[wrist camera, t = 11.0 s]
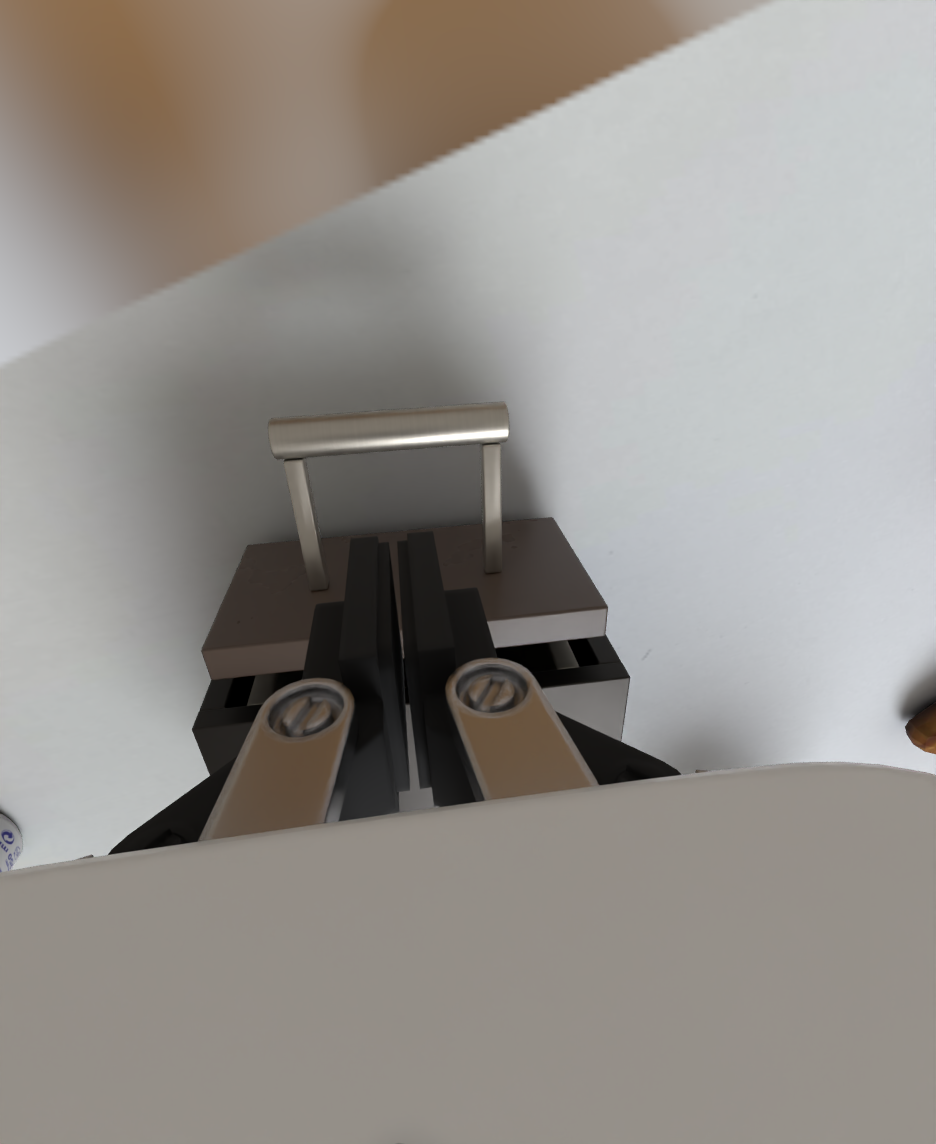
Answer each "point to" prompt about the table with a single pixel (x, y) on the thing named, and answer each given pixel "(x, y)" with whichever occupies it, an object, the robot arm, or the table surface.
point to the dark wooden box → (572, 692)
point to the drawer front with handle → (465, 553)
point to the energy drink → (9, 844)
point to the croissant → (923, 729)
